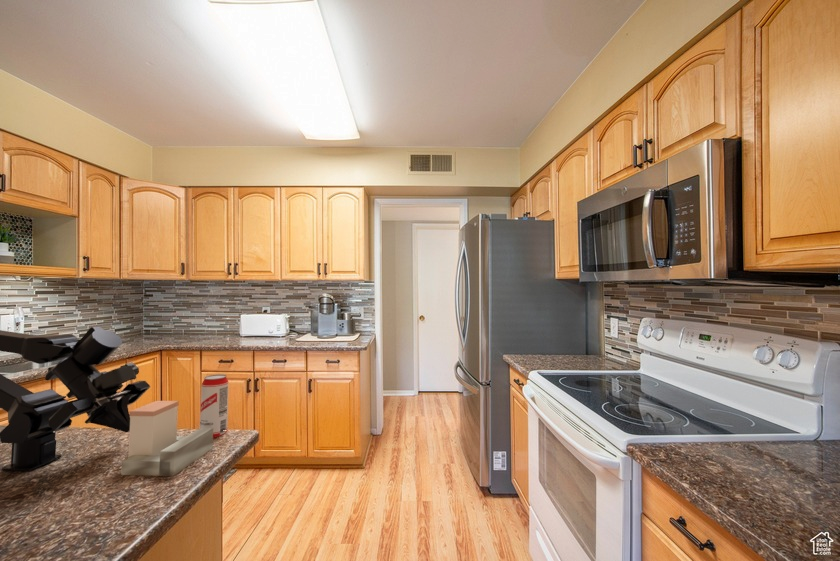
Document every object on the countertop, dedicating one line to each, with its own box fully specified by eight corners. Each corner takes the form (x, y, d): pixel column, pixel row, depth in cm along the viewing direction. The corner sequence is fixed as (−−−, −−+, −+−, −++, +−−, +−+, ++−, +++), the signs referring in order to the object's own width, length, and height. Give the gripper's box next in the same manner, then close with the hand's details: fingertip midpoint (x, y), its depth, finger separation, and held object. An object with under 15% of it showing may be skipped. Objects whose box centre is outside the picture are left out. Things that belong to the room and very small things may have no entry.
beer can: (214, 444, 86) (216, 380, 87) (193, 441, 87) (195, 378, 88) (232, 434, 92) (234, 374, 93) (212, 432, 94) (214, 373, 94)
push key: (127, 467, 72) (129, 411, 72) (154, 452, 79) (156, 400, 79) (151, 468, 71) (153, 411, 72) (176, 452, 79) (178, 401, 79)
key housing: (85, 488, 66) (86, 456, 66) (158, 447, 84) (159, 422, 84) (166, 490, 66) (167, 458, 66) (222, 448, 84) (223, 423, 84)
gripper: (65, 361, 67) (118, 419, 66) (144, 347, 86) (186, 392, 85) (24, 402, 67) (76, 460, 66) (112, 379, 85) (153, 424, 85)
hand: (130, 430), depth 75 cm, fingers closed
